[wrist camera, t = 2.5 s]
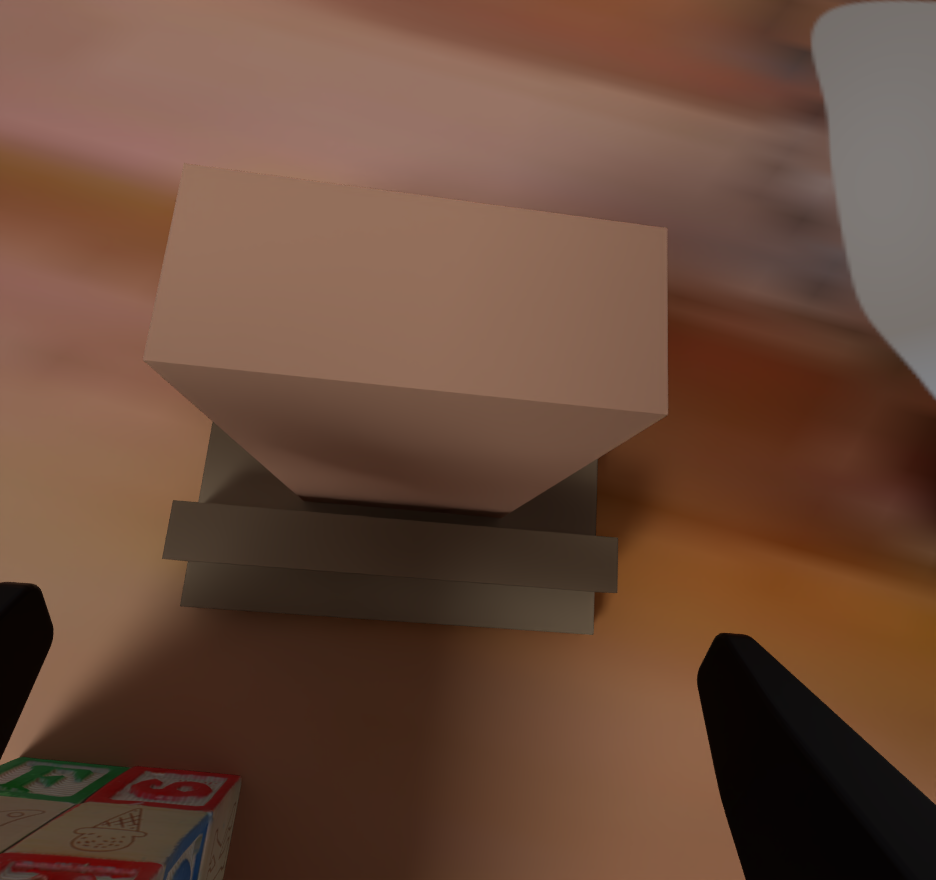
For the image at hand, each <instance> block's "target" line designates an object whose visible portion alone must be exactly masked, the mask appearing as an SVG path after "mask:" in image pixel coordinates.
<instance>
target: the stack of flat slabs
mask: <svg viewBox="0 0 936 880" xmlns="http://www.w3.org/2000/svg"><path fill="white" fill-rule="evenodd" d="M597 463H598V459H596V460H594V461H593V462H591V463H590V464H588V465H586V466H585V467H583V468H581V469H580V470H578V471H577V472H575V473H573V474H572V475H570V476H569V477H567V478H565V479H564V480H562V481H561V482H559V483H557V484H556V485H554V486H552V487H551V488H549V489H548V490H546V491H544V492H543V493H541V494H540V495H538V496H536V497H535V498H533V499H531V500H530V501H528V502H527V503H525V504H523V505H522V506H520V507H519V508H517V509H515V510H514V511H512V512H511V513H509V514H507V515H506V516H504V517H502V518H494V517H482V516H470V515H459V514H447V513H436V512H424V511H412V510H401V509H389V508H377V507H366V506H354V505H342V504H331V503H319V502H308V501H303V500H302V499H301V498H299V497H298V496H297V495H296V494H295V493H294V492H293V491H291V490H290V489H289V488H288V487H287V486H286V485H285V484H284V483H282V482H281V481H280V480H279V479H278V478H277V477H276V476H274V475H273V474H272V473H271V472H270V471H269V470H268V469H266V468H265V467H264V466H263V465H262V464H261V463H260V462H258V461H257V460H256V459H255V458H254V457H253V456H252V455H250V454H249V453H248V452H247V451H246V450H245V449H244V448H242V447H241V446H240V445H239V444H238V443H237V442H236V441H234V440H233V439H232V438H231V437H230V436H229V435H228V434H227V433H225V432H224V431H223V430H222V429H221V428H220V427H219V426H217V425H216V424H215V423H214V422H213V423H212V428H211V434H210V440H209V445H208V451H207V457H206V462H205V468H204V474H203V479H202V485H201V491H200V496H199V502H188V501H176V500H173V503H172V509H171V514H170V519H169V525H168V530H167V535H166V541H165V546H164V552H163V557H162V559H171V560H181V561H188V564H187V570H186V575H185V581H184V587H183V592H182V598H181V604H180V606H184V607H198V608H213V609H227V610H242V611H256V612H271V613H285V614H300V615H314V616H329V617H343V618H358V619H372V620H387V621H401V622H416V623H430V624H445V625H459V626H474V627H488V628H503V629H517V630H531V631H546V632H560V633H575V634H589V635H593V633H594V592H605V593H617V577H618V538H614V537H602V536H596V505H597Z"/></svg>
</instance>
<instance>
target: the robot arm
mask: <svg viewBox="0 0 936 880" xmlns="http://www.w3.org/2000/svg"><path fill="white" fill-rule="evenodd" d="M52 640H53V624H52V621H51V618H50V615H49V612H48V609H47V606H46V603H45V600H44V597H43V594H42V591H41V589H40V588H39V587H38V586H37V585H35V584H31V583H17V582H2V583H0V759H1V757H2V755H3V753H4V751H5V748H6V746H7V744H8V742H9V740H10V737H11V735H12V733H13V731H14V728H15V726H16V724H17V722H18V719H19V717H20V715H21V713H22V710H23V708H24V706H25V703H26V701H27V699H28V697H29V694H30V692H31V690H32V688H33V685H34V683H35V681H36V679H37V676H38V674H39V672H40V669H41V667H42V665H43V663H44V660H45V658H46V656H47V654H48V651H49V649H50V647H51V644H52ZM697 685H698V691H699V696H700V701H701V706H702V711H703V716H704V721H705V725H706V730H707V735H708V740H709V745H710V750H711V755H712V760H713V765H714V769H715V774H716V779H717V783H718V788H719V792H720V796H721V800H722V803H723V807H724V810H725V814H726V817H727V821H728V824H729V827H730V830H731V834H732V837H733V840H734V843H735V846H736V850H737V853H738V856H739V859H740V863H741V866H742V869H743V872H744V876H745V879H746V880H936V805H935V804H934V803H933V802H932V801H931V800H930V799H929V798H928V797H927V796H925V795H924V794H923V793H922V792H921V791H920V790H919V789H918V788H917V787H916V786H914V785H913V784H912V783H911V782H910V781H909V780H908V779H907V778H906V777H905V776H904V775H902V774H901V773H900V772H899V771H898V770H897V769H896V768H895V767H894V766H893V765H891V764H890V763H889V762H888V761H887V760H886V759H885V758H884V757H883V756H882V755H880V754H879V753H878V752H877V751H876V750H875V749H874V748H873V747H872V746H871V745H869V744H868V743H867V742H866V741H865V740H864V739H863V738H862V737H861V736H860V735H858V734H857V733H856V732H855V731H854V730H853V729H852V728H851V727H850V726H849V725H847V724H846V723H845V722H844V721H843V720H842V719H841V718H840V717H839V716H838V715H837V714H835V713H834V712H833V711H832V710H831V709H830V708H829V707H828V706H827V705H826V704H824V703H823V702H822V701H821V700H820V699H819V698H818V697H817V696H816V695H815V694H813V693H812V692H811V691H810V690H809V689H808V688H807V687H806V686H805V685H804V684H802V683H801V682H800V681H799V680H798V679H797V678H796V677H795V676H794V675H793V674H791V673H790V672H789V671H788V670H787V669H786V668H785V667H784V666H783V665H782V664H780V663H779V662H778V661H777V660H776V659H775V658H774V657H773V656H772V655H771V654H770V653H768V652H767V651H766V650H765V649H764V648H763V647H762V646H761V645H760V644H759V643H757V642H756V641H755V640H754V639H753V638H751V637H750V636H747V635H744V634H732V633H720V634H719V635H717V636H716V637H715V638H714V640H713V642H712V644H711V646H710V648H709V650H708V652H707V654H706V656H705V658H704V660H703V662H702V664H701V666H700V668H699V671H698V675H697Z"/></svg>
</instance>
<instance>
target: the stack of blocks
mask: <svg viewBox="0 0 936 880" xmlns="http://www.w3.org/2000/svg"><path fill="white" fill-rule="evenodd" d="M240 788H241V777H240V776H238V775H229V774H219V773H208V772H197V771H186V770H175V769H163V768H150V767H141V766H136V767H131V768H130V767H118V766H108V765H97V764H87V763H77V762H67V761H56V760H45V759H36V758H28V757H20V758H17V759H14V760H12V761H10V762H7V763H5V764H2V765H0V880H223V876H224V871H225V866H226V861H227V856H228V851H229V846H230V841H231V835H232V830H233V825H234V820H235V814H236V809H237V804H238V799H239V793H240Z"/></svg>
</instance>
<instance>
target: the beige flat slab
mask: <svg viewBox="0 0 936 880" xmlns="http://www.w3.org/2000/svg"><path fill="white" fill-rule="evenodd" d="M143 361H144V362H146V363H147V364H148V365H149V366H150V367H151V368H152V369H154V370H155V371H156V372H157V373H158V374H159V375H160V376H162V377H163V378H164V379H165V380H166V381H167V382H168V383H170V384H171V385H172V386H173V387H174V388H175V389H176V390H178V391H179V392H180V393H181V394H182V395H183V396H184V397H185V398H187V399H188V400H189V401H190V402H191V403H192V404H193V405H195V406H196V407H197V408H198V409H199V410H200V411H201V412H203V413H204V414H205V415H206V416H207V417H208V418H209V419H211V420H212V421H213V422H214V423H215V424H216V425H217V426H219V427H220V428H221V429H222V430H223V431H224V432H225V433H227V434H228V435H229V436H230V437H231V438H232V439H233V440H234V441H236V442H237V443H238V444H239V445H240V446H241V447H242V448H244V449H245V450H246V451H247V452H248V453H249V454H250V455H252V456H253V457H254V458H255V459H256V460H257V461H258V462H260V463H261V464H262V465H263V466H264V467H265V468H266V469H268V470H269V471H270V472H271V473H272V474H273V475H274V476H276V477H277V478H278V479H279V480H280V481H281V482H282V483H284V484H285V485H286V486H287V487H288V488H289V489H290V490H291V491H293V492H294V493H295V494H296V495H297V496H298V497H299V498H301V499H302V500H303V501H308V502H319V503H331V504H342V505H354V506H366V507H377V508H389V509H401V510H412V511H424V512H436V513H447V514H459V515H470V516H482V517H494V518H502V517H504V516H506V515H507V514H509V513H511V512H512V511H514V510H515V509H517V508H519V507H520V506H522V505H523V504H525V503H527V502H528V501H530V500H531V499H533V498H535V497H536V496H538V495H540V494H541V493H543V492H544V491H546V490H548V489H549V488H551V487H552V486H554V485H556V484H557V483H559V482H561V481H562V480H564V479H565V478H567V477H569V476H570V475H572V474H573V473H575V472H577V471H578V470H580V469H581V468H583V467H585V466H586V465H588V464H590V463H591V462H593V461H594V460H596V459H598V458H599V457H601V456H602V455H604V454H606V453H607V452H609V451H611V450H612V449H614V448H615V447H617V446H619V445H620V444H622V443H623V442H625V441H627V440H628V439H630V438H631V437H633V436H635V435H636V434H638V433H640V432H641V431H643V430H644V429H646V428H648V427H649V426H651V425H652V424H654V423H656V422H657V421H659V420H661V419H662V418H664V417H665V416H667V415H668V288H667V228H664V227H657V226H649V225H642V224H634V223H627V222H619V221H612V220H604V219H597V218H589V217H582V216H574V215H567V214H559V213H552V212H544V211H537V210H529V209H522V208H515V207H507V206H500V205H492V204H485V203H477V202H470V201H462V200H455V199H447V198H440V197H432V196H425V195H417V194H410V193H402V192H395V191H387V190H380V189H372V188H365V187H357V186H350V185H342V184H335V183H328V182H320V181H313V180H305V179H298V178H290V177H283V176H275V175H268V174H260V173H253V172H245V171H238V170H230V169H223V168H215V167H208V166H200V165H193V164H185V163H184V166H183V171H182V175H181V180H180V185H179V190H178V194H177V199H176V204H175V209H174V214H173V218H172V223H171V228H170V233H169V237H168V242H167V247H166V252H165V256H164V261H163V266H162V271H161V276H160V280H159V285H158V290H157V295H156V299H155V304H154V309H153V314H152V318H151V323H150V328H149V333H148V338H147V342H146V347H145V352H144V357H143Z"/></svg>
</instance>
